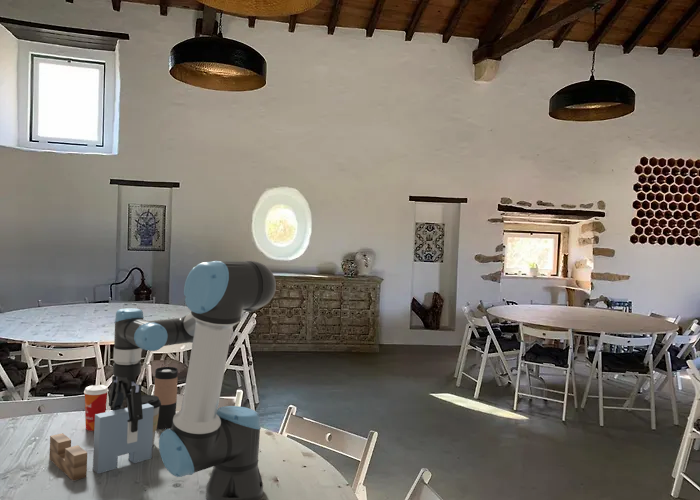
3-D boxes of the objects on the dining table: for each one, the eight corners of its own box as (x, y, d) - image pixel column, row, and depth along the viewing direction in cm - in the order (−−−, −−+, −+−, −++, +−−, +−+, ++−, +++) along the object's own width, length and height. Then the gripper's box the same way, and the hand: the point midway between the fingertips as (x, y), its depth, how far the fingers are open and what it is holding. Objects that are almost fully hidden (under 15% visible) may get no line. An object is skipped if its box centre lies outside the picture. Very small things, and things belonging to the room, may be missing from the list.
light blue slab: (151, 458, 167) (153, 406, 166) (97, 473, 155) (100, 417, 154) (145, 454, 169) (148, 403, 168) (92, 469, 157) (95, 414, 157)
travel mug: (153, 422, 196) (155, 366, 195) (175, 421, 198) (178, 366, 197) (152, 430, 188) (154, 372, 188) (175, 429, 191) (178, 372, 190)
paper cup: (82, 425, 189) (84, 385, 189) (106, 423, 193) (108, 383, 192) (82, 433, 182) (83, 391, 182) (107, 431, 185) (109, 390, 185)
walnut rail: (86, 477, 152) (87, 452, 152) (73, 481, 150) (74, 455, 150) (61, 456, 165) (62, 433, 164) (49, 459, 162) (50, 435, 162)
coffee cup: (148, 452, 171) (151, 405, 170) (121, 448, 173) (123, 401, 172) (165, 441, 180) (167, 396, 179) (139, 437, 182) (141, 392, 181)
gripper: (158, 367, 156) (154, 445, 157) (122, 352, 171) (119, 423, 172) (132, 371, 151) (128, 452, 151) (98, 355, 165) (95, 428, 166)
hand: (124, 436), depth 162 cm, fingers open, 9 cm apart
